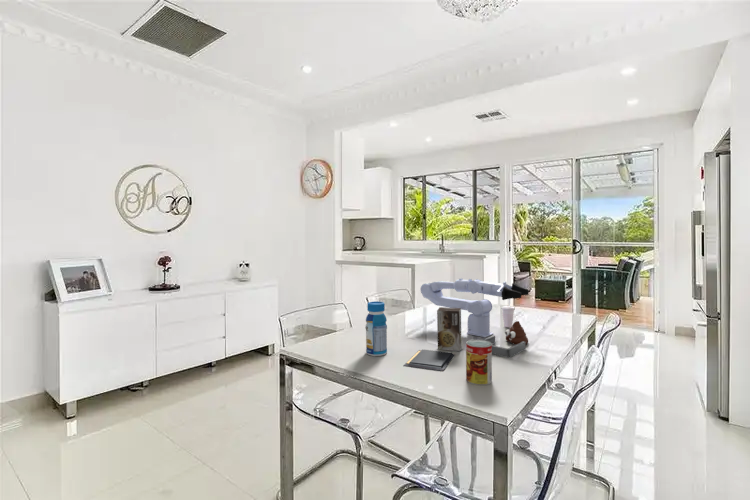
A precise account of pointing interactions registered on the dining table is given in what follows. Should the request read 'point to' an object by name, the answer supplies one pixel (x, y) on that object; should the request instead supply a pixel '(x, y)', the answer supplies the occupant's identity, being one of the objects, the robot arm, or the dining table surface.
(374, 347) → the beverage bottle
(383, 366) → the dining table surface
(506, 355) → the box
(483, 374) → the canned food
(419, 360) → the dark gray flat slab
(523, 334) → the poop emoji
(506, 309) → the smoothie
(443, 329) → the coffee box
